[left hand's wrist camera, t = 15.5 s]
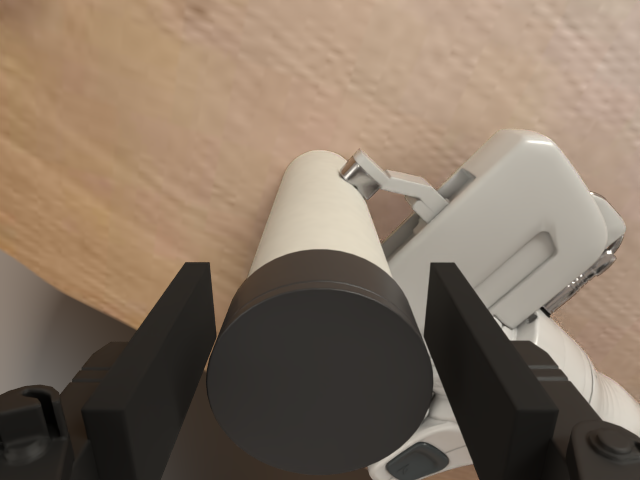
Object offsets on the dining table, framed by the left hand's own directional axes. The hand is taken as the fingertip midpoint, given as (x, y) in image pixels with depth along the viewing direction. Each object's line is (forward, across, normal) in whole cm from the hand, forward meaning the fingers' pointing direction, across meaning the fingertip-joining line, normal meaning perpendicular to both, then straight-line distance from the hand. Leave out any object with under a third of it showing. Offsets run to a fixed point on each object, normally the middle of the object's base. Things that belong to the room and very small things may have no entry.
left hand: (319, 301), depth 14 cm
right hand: (+9, -1, +1) cm, 9 cm away
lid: (-4, 0, 0) cm, 4 cm away
